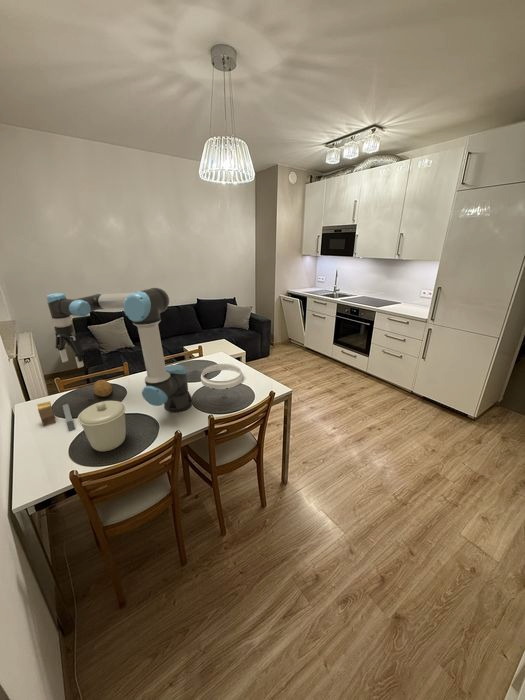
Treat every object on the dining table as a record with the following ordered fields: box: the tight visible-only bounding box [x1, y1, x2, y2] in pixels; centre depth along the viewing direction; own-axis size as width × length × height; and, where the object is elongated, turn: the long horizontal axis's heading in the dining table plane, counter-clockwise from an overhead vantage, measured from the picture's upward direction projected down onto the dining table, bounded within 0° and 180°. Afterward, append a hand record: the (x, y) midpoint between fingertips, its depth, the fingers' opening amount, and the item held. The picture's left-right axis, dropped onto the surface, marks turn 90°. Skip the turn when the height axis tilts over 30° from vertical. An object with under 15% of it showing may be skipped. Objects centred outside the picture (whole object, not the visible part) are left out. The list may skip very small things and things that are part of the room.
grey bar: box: [62, 403, 76, 432], centre depth 139 cm, size 18×2×5 cm, turn 39°
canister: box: [77, 400, 127, 452], centre depth 122 cm, size 18×18×21 cm
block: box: [36, 401, 57, 427], centre depth 137 cm, size 5×5×10 cm
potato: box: [93, 379, 113, 397], centre depth 162 cm, size 10×14×8 cm
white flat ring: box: [200, 363, 243, 390], centre depth 183 cm, size 27×27×6 cm
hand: (73, 364), depth 147 cm, fingers open, 13 cm apart
